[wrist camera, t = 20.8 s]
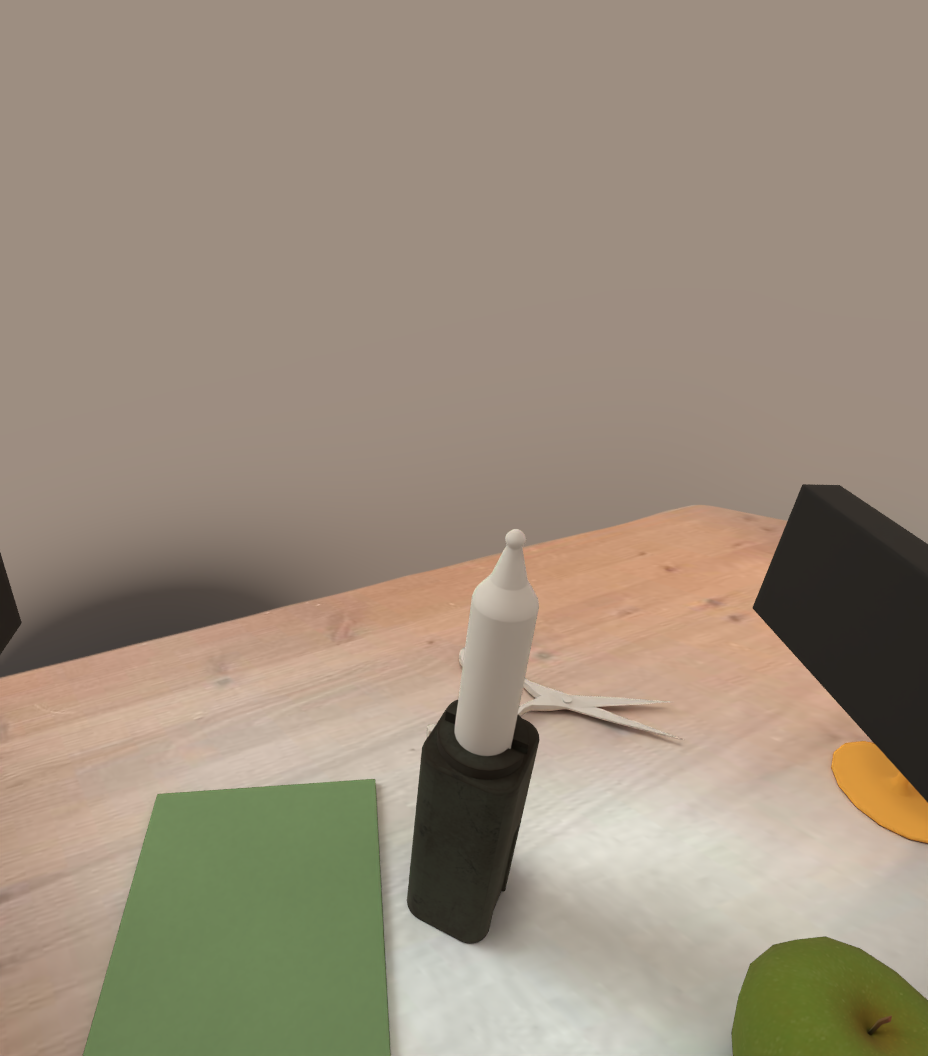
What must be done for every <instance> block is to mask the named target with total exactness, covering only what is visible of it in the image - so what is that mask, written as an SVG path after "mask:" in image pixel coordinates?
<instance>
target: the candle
mask: <svg viewBox="0 0 928 1056" xmlns="http://www.w3.org/2000/svg"><path fill="white" fill-rule="evenodd" d="M505 540H506V544H507V545H506V548H505V549H504V551H503V553H502V555H501V557H500V558H499V560H498V562H497V564H496V566H495V568H494V570H493V571H492V573H491V574H490V575H489V576H488V577H487V578H486V579H484V580H483V581H482V582H481V583H480V584H479V585H478V586H477V587H476V588H475V590H474V592H473V595H472V601H471V608H470V616H469V623H468V631H467V638H466V646H465V653H464V661H463V669H462V676H461V684H460V691H459V699H458V700H456V701H454V702H452V703H451V704H450V705H449V706H448V707H447V709H446V710H445V712H444V713H443V715H442V716H441V718H440V720H439V721H438V723H437V724H436V726H435V727H434V729H433V730H432V732H431V733H430V735H429V736H428V738H427V739H426V741H425V742H424V745H423V747H422V755H421V765H420V775H419V785H418V795H417V805H416V815H415V825H414V835H413V845H412V855H411V865H410V875H409V886H408V896H407V903H408V907H409V909H410V911H411V912H412V914H413V915H414V916H416V917H417V918H419V919H420V920H422V921H424V922H426V923H428V924H430V925H432V926H434V927H436V928H437V929H439V930H441V931H443V932H445V933H447V934H449V935H451V936H453V937H454V938H456V939H458V940H460V941H462V942H465V943H476V942H479V941H480V940H482V939H483V938H484V937H485V936H486V935H487V933H488V931H489V927H490V923H491V918H492V914H493V910H494V907H495V905H496V902H497V900H498V897H499V895H500V893H501V891H505V888H506V884H507V880H508V875H509V871H510V867H511V862H512V858H513V853H514V849H515V845H516V840H517V836H518V831H519V827H520V823H521V818H522V814H523V810H524V805H525V801H526V796H527V792H528V788H529V783H530V779H531V774H532V770H533V766H534V761H535V757H536V752H537V748H538V744H539V734H538V731H537V729H536V728H535V727H534V725H532V724H531V723H530V722H528V721H526V720H524V719H522V718H521V717H520V716H519V714H518V710H519V705H520V700H521V695H522V690H523V685H524V680H525V674H526V669H527V664H528V659H529V654H530V649H531V644H532V639H533V634H534V629H535V624H536V619H537V614H538V609H539V603H538V598H537V596H536V594H535V592H534V590H533V588H532V586H531V585H530V583H529V581H528V579H527V573H526V567H525V561H524V555H523V549H522V547H523V545H524V544H525V542H526V537H525V535H524V533H523V532H522V531H521V530H518V529H513V530H511V531H510V532H508V533H507V535H506V537H505Z"/></svg>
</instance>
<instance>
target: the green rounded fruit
mask: <svg viewBox="0 0 928 1056" xmlns="http://www.w3.org/2000/svg"><path fill="white" fill-rule="evenodd" d="M732 1049H733V1056H928V1000H927V999H926V998H925V997H923V996H922V995H921V994H920V993H919V992H918V991H917V990H916V989H915V988H913V987H912V986H911V985H910V984H909V983H908V982H907V981H906V980H905V979H903V978H902V977H901V976H900V975H899V974H898V973H897V972H895V971H894V970H892V969H891V968H889V967H888V966H886V965H885V964H883V963H882V962H880V961H878V960H877V959H875V958H874V957H872V956H871V955H869V954H868V953H866V952H865V951H863V950H862V949H860V948H857V947H854V946H851V945H848V944H845V943H843V942H840V941H837V940H834V939H831V938H828V937H817V938H808V939H799V940H793V941H788V942H784V943H779V944H775V945H772V946H771V947H770V948H769V949H768V950H766V951H765V952H764V953H763V954H762V955H760V956H759V957H758V958H757V959H756V960H754V961H753V962H752V963H751V964H750V966H749V969H748V971H747V974H746V977H745V980H744V983H743V985H742V988H741V991H740V994H739V997H738V1002H737V1007H736V1012H735V1017H734V1023H733V1028H732Z"/></svg>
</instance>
